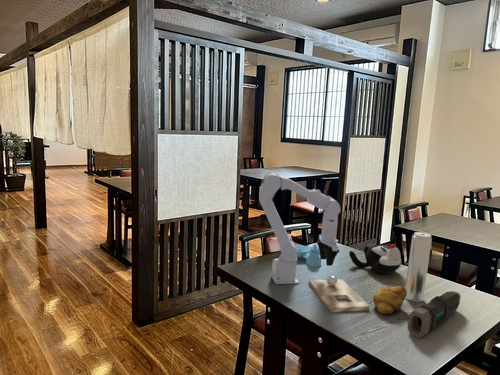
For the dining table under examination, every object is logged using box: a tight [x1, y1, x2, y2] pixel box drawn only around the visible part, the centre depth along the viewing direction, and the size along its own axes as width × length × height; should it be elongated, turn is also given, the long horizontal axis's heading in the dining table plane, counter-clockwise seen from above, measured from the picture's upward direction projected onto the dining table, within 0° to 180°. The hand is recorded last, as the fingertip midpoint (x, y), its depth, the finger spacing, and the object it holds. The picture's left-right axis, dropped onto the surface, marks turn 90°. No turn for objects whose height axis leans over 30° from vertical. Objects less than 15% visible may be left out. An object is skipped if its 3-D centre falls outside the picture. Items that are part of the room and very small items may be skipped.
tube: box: [407, 290, 462, 339], centre depth 118 cm, size 11×7×30 cm
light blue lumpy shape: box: [295, 244, 322, 268], centre depth 167 cm, size 18×10×9 cm, turn 37°
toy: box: [348, 243, 402, 275], centre depth 160 cm, size 16×17×20 cm
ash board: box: [308, 278, 370, 313], centre depth 133 cm, size 14×22×2 cm, turn 11°
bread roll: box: [372, 285, 407, 315], centre depth 125 cm, size 13×10×8 cm
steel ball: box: [327, 275, 338, 287], centre depth 137 cm, size 4×4×4 cm
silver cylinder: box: [404, 231, 433, 303], centre depth 133 cm, size 6×6×25 cm
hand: (326, 262), depth 143 cm, fingers open, 6 cm apart
